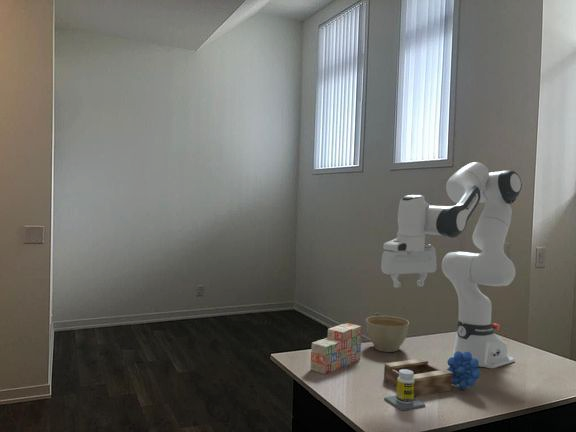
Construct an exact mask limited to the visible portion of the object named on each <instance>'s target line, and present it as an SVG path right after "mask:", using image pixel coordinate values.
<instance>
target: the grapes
mask: <svg viewBox="0 0 576 432" xmlns="http://www.w3.org/2000/svg"><path fill="white" fill-rule="evenodd" d="M478 365H479V361H478V360H477V359H476V358H472V354H471V353H470V352H468V351H467V352H464V353H463V354H462V352H459V351H457V352H456V353H455V354H454V358H453V357H452V356H451V357H449V359H447V366H448V367H447V368H446V370H448V371H450V372H452V373H453V376H452V386H458V387H459V389H461V390H466V389H467V388H468V387H470V388H473V387H474V386H476V385H477V379H478V378H479V377H481V375H482V372H481V369H479V368H478V367H479V366H478Z"/></svg>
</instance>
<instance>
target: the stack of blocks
mask: <svg viewBox="0 0 576 432" xmlns="http://www.w3.org/2000/svg"><path fill="white" fill-rule="evenodd" d="M361 345H362V326H361V325H358V324H353V323H348V322H345V323H341V324H339V325H335V326H333V327H329V328H328V329H327V337H325V338H323V339H318V340H316V341H314V342H313V341H312V342H311V352H310V370H312V371H314V372H317V373H320V374H323V375H326V374H328V373H331V372H334V371H336V370H340V369H341V368H344V367H346V366H348V365H350V364H353V363H355V362H358V361H360V360H361V347H362V346H361Z"/></svg>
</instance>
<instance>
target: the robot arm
mask: <svg viewBox="0 0 576 432" xmlns="http://www.w3.org/2000/svg"><path fill="white" fill-rule="evenodd" d="M522 186H523V184H522V179H521V177H520V175H519V174H518V173H517V172H516V171H515V170H509V169H507V170H501V171H494V172H493V171H492V172H489V169H488V167H487V165H484V163H481V162H480V161H478V162H477V161H474V162H470V163H468V164H466V165H464V166H462V167H461V168H459V169H458V170H457V171H455V172H454V174H452V175H451V176H450V177H449V179H448V180H447V181H446V184H445V191H446V193H447V196H448V197H449V199H450V200H451V201H452V202H454V204H455V205H447V206H446V205H431V204H429V203H428V202H427V201H426V198H425V196H424V195H422V194H410V195H409V194H408V195H405V196H403V197H401V199H400V201H399V203H398V211H397V225H398V229H397V230H398V231H397V233H396V237H395V238H394V239H391V240H389V241H386V242H384V243H383V247H382V248H383V253H382V255H381V263H380V270H381V272H382V273H383V274H386V275H390V277H391V280H392V282H393V287H394V288H395V289H398V288H401V287H402V286H401V282H400V281H399V279H398V278H399V275H403V274H404V275H405V274H408V275H409V274H419V278H418V280H416V286H417V287H424V285H425V280H426V278H427V276H428V274H429V273H436V271H437V254H436V248H435V246H434V244H430V243H429V244H425V243H426V234H427V235H431V236H433V235H434V236H442V237H446V238H447V237H449V238H452V239H453V238H457V237H458V236H460V235H461V234H462V233H463V232H464V230H465V228H466V226H467V222H468V220H469V219H470V217H471V216H472V214H473V213H474V211H475V210H476V208H477V206H478V205H479V204H484V208H483V210H482V212H481V214H480V216H479V218H478V221H477V223H476V225H475V228H474V230H473V233H472V237H471V238H472V243H473V245H475V247H476V248H477V249H478V250H479V251H480V250H481V252H472V251H471V252H470V251H450V252H448V253H446V254H445V255H444V257H443V258H442V260H441V261H442V262H441V271H442V273H443V275H444V276H445V277H446V278H447V279H448V280H449V281H450V283H451V284H452V285H453V288H454V290H455V292H456V295H457V298H458V299H457V300H458V318H457V320H456V335H455V340H454V345H453V347H454V348H453V349H452V352H451V353H452V354H451V357H453V358H454V354H455V353H456V352H457V351H459V352H462V354H463V353H464V352H467V351H468V352H470V353H471V354H472V358H476V359H477V360H478V361H479V365H478V367H482V368H487V369H496V368H498V367H501V366H502V367H503V366H505V365H508V364H510V363H511V364H512V363H513V362H515V357H513V356H511V355H509V354H508V345H507V344H506V342H505V341H503V339H502V338H500V337H499V336H498V335H497V334H496V333H495V330H497V331H498V330H499V329H500V327H501V325H500V324H499V323H495V322H493V323H492V308H493V307H492V305H493V304H492V301H491V300H490V298H489V297H488V296H486V295H485V294H484V293H482V292H481V290H480V288H479V286H478V285H482V286H490V287H507V286H509V285H510V284H512V282H513V281H514V280H515V277H516V267H515V265H514V263H513V261H512V260H511V259H510V258H509V257H508V256H507V255H506V253H505V250H504V249H505V248H504V247H505V241H506V238H507V234H508V231H509V230H510V229H509V228H510V226H511V221H512V214H513V213H512V212H513V209H512V207H511V205H512V204H513V203H515V201H516V200H517V198H518V196H519V195H520V193H521V190H522ZM494 329H495V330H494Z"/></svg>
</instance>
